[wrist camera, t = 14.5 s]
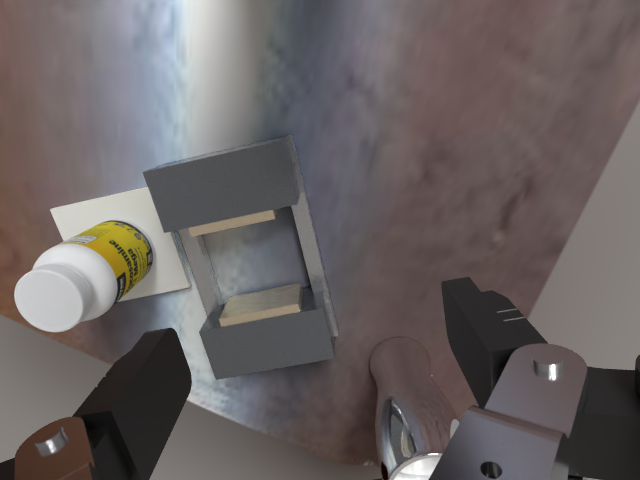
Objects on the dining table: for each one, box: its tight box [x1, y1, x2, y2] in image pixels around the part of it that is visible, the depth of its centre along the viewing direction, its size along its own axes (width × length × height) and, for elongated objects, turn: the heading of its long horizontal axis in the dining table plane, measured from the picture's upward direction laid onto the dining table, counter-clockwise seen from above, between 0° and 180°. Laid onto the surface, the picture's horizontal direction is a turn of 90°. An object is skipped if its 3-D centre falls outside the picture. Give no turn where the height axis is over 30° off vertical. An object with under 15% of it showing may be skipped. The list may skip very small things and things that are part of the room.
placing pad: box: [50, 187, 191, 302], centre depth 39 cm, size 10×10×1 cm
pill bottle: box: [14, 219, 155, 332], centre depth 33 cm, size 6×6×11 cm
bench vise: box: [143, 135, 339, 380], centre depth 37 cm, size 19×12×5 cm, turn 13°
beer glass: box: [369, 337, 460, 480], centre depth 35 cm, size 7×7×15 cm
